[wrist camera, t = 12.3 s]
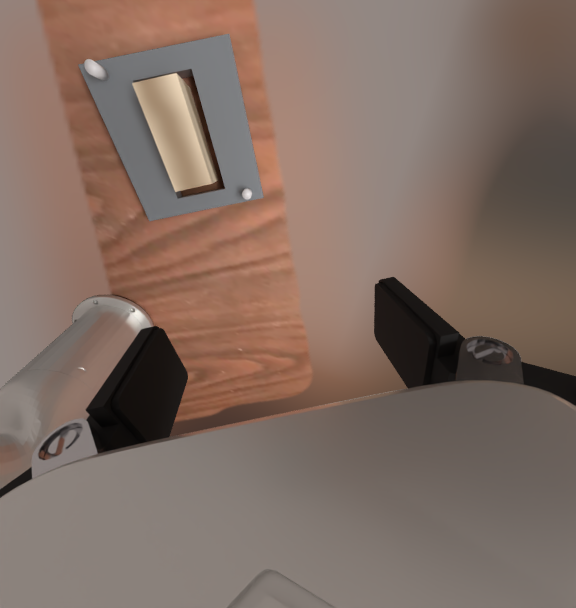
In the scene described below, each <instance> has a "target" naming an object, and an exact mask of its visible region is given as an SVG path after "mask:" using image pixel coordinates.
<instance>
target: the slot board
mask: <svg viewBox="0 0 576 608" xmlns="http://www.w3.org/2000/svg"><path fill="white" fill-rule="evenodd" d="M78 66H79V68H80V70H81V72H82V75H83V77H84V79H85V81H86V83H87V86H88V88H89V90H90V92H91V94H92V96H93V99H94V101H95V103H96V105H97V107H98V110H99V112H100V114H101V116H102V118H103V121H104V123H105V125H106V127H107V129H108V131H109V134H110V136H111V138H112V140H113V142H114V145H115V147H116V149H117V151H118V153H119V156H120V158H121V160H122V162H123V164H124V166H125V169H126V171H127V173H128V175H129V177H130V180H131V182H132V184H133V186H134V188H135V191H136V193H137V195H138V197H139V199H140V201H141V204H142V206H143V208H144V210H145V212H146V215H147V217H148V219H149V221H153V220H157V219H162V218H167V217H172V216H177V215H182V214H187V213H191V212H196V211H201V210H206V209H211V208H216V207H221V206H225V205H230V204H235V203H240V202H245V201H250V200H255V199H259V198H264V197H263V192H262V187H261V182H260V177H259V173H258V168H257V163H256V158H255V154H254V149H253V144H252V139H251V135H250V130H249V125H248V120H247V116H246V111H245V106H244V101H243V97H242V92H241V87H240V82H239V78H238V73H237V68H236V63H235V59H234V54H233V49H232V44H231V40H230V35H229V34H226V35H221V36H216V37H211V38H206V39H201V40H196V41H191V42H187V43H182V44H177V45H172V46H167V47H162V48H157V49H152V50H147V51H143V52H138V53H133V54H128V55H123V56H118V57H113V58H108V59H104V60H99V61H93V60H90V59H87V60H86V61H85V63H84V64H79V65H78ZM174 73H177V74H178V75H179V76H180V77H181V78H187V77H192V76H194V79H195V83H196V86H197V90H198V94H199V97H200V101H201V104H202V108H203V111H204V115H205V118H206V122H207V126H208V129H209V133H210V136H211V140H212V143H213V147H214V150H215V154H216V157H217V161H218V165H219V168H220V172H221V175H222V179H223V182H224V186H225V188H221V189H216V190H211V191H206V192H201V193H196V194H191V195H187V196H182V194H181V191H177V192H175V190H174V188H173V185H172V183H171V180H170V178H169V175H168V172H167V170H166V167H165V165H164V162H163V160H162V157H161V155H160V152H159V150H158V147H157V145H156V142H155V140H154V137H153V135H152V132H151V130H150V127H149V125H148V122H147V120H146V117H145V115H144V112H143V110H142V107H141V105H140V102H139V100H138V97H137V95H136V92H135V90H134V87H133V85H132V83H135V82H139V81H144V80H148V79H152V78H157V77H161V76H165V75H170V74H174Z"/></svg>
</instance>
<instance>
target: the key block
mask: <svg viewBox="0 0 576 608" xmlns="http://www.w3.org/2000/svg"><path fill="white" fill-rule="evenodd" d="M132 85H133V87H134V90H135V92H136V95H137V97H138V100H139V102H140V105H141V107H142V110H143V112H144V115H145V117H146V120H147V122H148V125H149V127H150V130H151V132H152V135H153V137H154V140H155V142H156V145H157V147H158V150H159V152H160V155H161V157H162V160H163V162H164V165H165V167H166V170H167V172H168V175H169V178H170V180H171V183H172V185H173V188H174V190H175V192H177V191H182V190H186V189H191V188H195V187H199V186H204V185H208V184H212V183H214V182H216V181H218V176H217V173H216V170H215V167H214V163H213V160H212V157H211V154H210V150H209V147H208V144H207V140H206V137H205V134H204V131H203V127H202V124H201V121H200V118H199V114H198V111H197V108H196V105H195V101H194V98H193V95H192V91H191V88H190V87H189V86H188V85H187V84H186V83H185V82H184V81H183V79H182V78H181V77H180V76H179V75H178V74H177V73H174V74H170V75H165V76H161V77H157V78H152V79H148V80H144V81H139V82H135V83H132Z"/></svg>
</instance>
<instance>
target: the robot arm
mask: <svg viewBox="0 0 576 608" xmlns="http://www.w3.org/2000/svg"><path fill="white" fill-rule="evenodd" d="M374 317H375V318H374V334H375V337H376V340H377V342H378V343H379V345H380V346H381V348H382V349H383V351H384V353H385V354H386V355H387V357H388V359H389V360H390V361H391V363H392V365H393V366H394V368H395V369H396V371H397V372H398V374H399V375H400V377H401V378H402V380H403V381H404V383H405V384H406V386H407V387H408V389H403V390H397V391H392V392H386V393H381V394H376V395H371V396H366V397H361V398H356V399H351V400H346V401H341V402H336V403H331V404H326V405H321V406H316V407H311V408H306V409H302V410H297V411H292V412H287V413H282V414H277V415H272V416H267V417H263V418H258V419H254V420H248V421H244V422H239V423H234V424H229V425H225V426H220V427H215V428H210V429H206V430H201V431H196V432H192V433H187V434H183V435H177V436H173V437H169V436H170V433H171V429H172V426H173V423H174V420H175V417H176V414H177V411H178V408H179V405H180V402H181V398H182V395H183V392H184V389H185V386H186V383H187V379H188V374H187V371H186V369H185V367H184V366H183V364H182V362H181V360H180V358H179V357H178V355H177V353H176V351H175V349H174V347H173V346H172V344H171V342H170V340H169V338H168V337H167V335H166V333H165V331H164V330H163V329H162V328H159V327H157V326H153V323H152V320H151V319H150V317H149V315H148V314H147V313H146V312H145V311H144V310H143V309H142V308H141V307H140V306H138V305H137V304H135V303H134V302H132V301H130V300H127V299H125V298H122V297H119V296H114V295H97V296H93V297H90V298H87V299H86V300H84V301H83V302H81V303H80V304H79V305H78V306H77V307H76V309H75V310H74V312H73V316H72V323H73V324H72V325H71V326H70V327H69V328H68V329H67V330H65V331H64V333H62V334H61V335H60V336H59V337H58V338H56V339H55V340H54V341H53V342H52V343H51V344H50V345H49V346H47V347H46V348H45V349H44V350H43V351H42V352H41V353H40V354H38V355H37V356H36V357H35V358H34V359H33V360H32V361H30V362H29V363H28V364H27V365H26V366H25V367H24V368H23V369H21V370H20V371H19V372H18V373H17V374H16V375H15V376H14V377H12V378H11V379H10V380H9V381H8V382H7V383H6V384H5V385H4V386H3V387H2V388H1V389H0V608H576V376H572V375H569V374H564V373H561V372H557V371H554V370H550V369H546V368H542V367H539V366H535V365H531V364H527V363H523V362H521V357H520V355H519V353H518V352H517V351H516V350H515V349H514V348H513V347H512V346H510V345H509V344H507V343H505V342H503V341H500V340H498V339H494V338H490V337H483V336H477V337H470V338H467V339H465V338H464V337H463V336H461V335H460V334H459V332H458V331H456V330H455V329H454V328H453V327H452V326H450V325H449V324H448V323H447V322H446V321H445V320H443V319H442V318H441V317H440V316H439V315H438V314H437V313H435V312H434V311H433V310H432V309H431V308H429V307H428V306H427V305H426V304H425V303H424V302H423V301H421V300H420V299H419V298H418V297H417V296H416V295H414V294H413V293H412V292H411V291H410V290H409V289H407V288H406V287H405V286H404V285H403V284H402V283H400V282H399V281H398V280H397V279H396V278H394V277H391V278H386V279H381V280H379V283H378V284H375V316H374Z"/></svg>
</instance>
